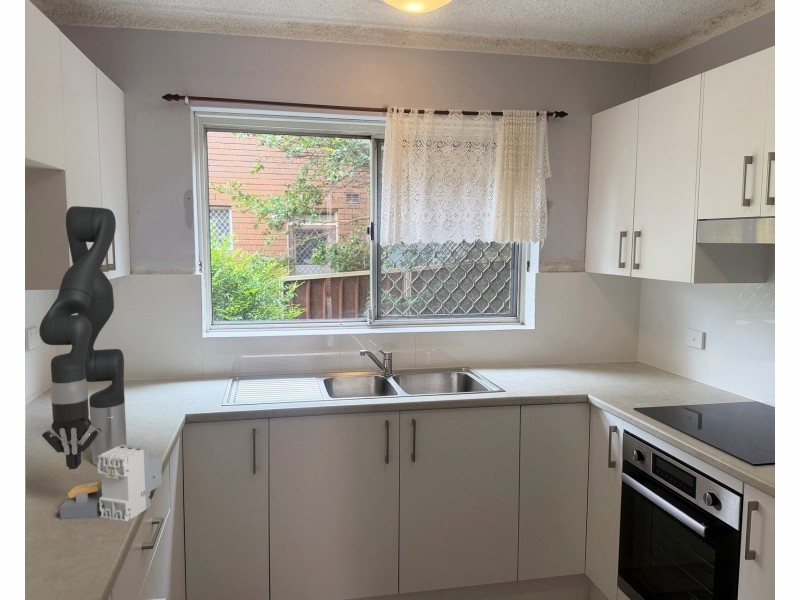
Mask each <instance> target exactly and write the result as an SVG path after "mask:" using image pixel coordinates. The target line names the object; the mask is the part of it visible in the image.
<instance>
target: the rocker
mask: <svg viewBox="0 0 800 600" xmlns="http://www.w3.org/2000/svg"><path fill="white" fill-rule="evenodd" d="M101 487H102V483H101V479H99V480H98V479H97V480H95V481H90V482H85V483H83V484H79V485H76V486H74V487H73V488H72V489H71V490H70V491H69V492H68V493H67V496H68V498H72V497H76V494H77V493H87V492H88V493H91V492H95V491H98V490H99V489H100V488H101Z"/></svg>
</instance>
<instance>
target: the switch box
mask: <svg viewBox="0 0 800 600" xmlns="http://www.w3.org/2000/svg"><path fill="white" fill-rule="evenodd" d="M100 497H102V487H101V488H100V489H99V490H98V491H95V492H91V493H88V492H87V493H77V494H76V497H72V498H69V497H68V498H67V499H65V501H64V502H63V503H62V504H61V505H60V506H59V517H60V520H66V519H67V520H68V519H69V520H70V519H87V518H97V517H98V516H100V515H101V511H100V505H99V498H100ZM103 507H104V505H102V508H103Z"/></svg>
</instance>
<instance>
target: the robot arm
mask: <svg viewBox="0 0 800 600" xmlns="http://www.w3.org/2000/svg"><path fill="white" fill-rule="evenodd" d="M116 226H117V221H116V216H115V214H114V212H113V211H112V210H111V209H110V208H106V207H95V206H93V207H92V206H81V205H79V206H78V205H77V206H76V205H75V206H70V207H69V208H68V209H67V211H66V214H65V229H66V236H67V242H68V245H69V252H70V257H71V263H72V265H71V266H70V267H68V269H67V270H66V272H65V273H64V275H63V276H62V280H61V284H60V286H59V289H58V293H57V297H56V299H55V300H54V302H53V303H52V305H51V306H50V308H49V309H48V311H47V312H46V314H44V317H43V318H42V320H41V322H40V325H39V328H38V329H39V330H38V332H39V337H40V340H41V341H42V342H43V343H44V344H45V345H49V346H70V345H71V349H70V352H68V353H63V354H59V355H55V356H54V357H52V358H51V360H50V373H51V390H50V394H51V395H50V399H51V413H52V420H53V421H52V422H51V423H52V424H51V426H50V427H51V428H49V429H47V430H46V431H45V432H44V433H42V434H41V436H42V438H43V439H44V440H45V441H46V442H47V443H48V445H50V446H51V447H52V449H54V450H55V452H57V453H58V454H59V453H62V454H65V465H66V467H67V468H68V470H77V469H78V468H79V467H80V465H81V464H82V452H83V453H84V452H85V451H86V450H87V449H88V448H89V447H90V446H91V461H92V465H94V466H97V464H98V462H99V457H98V455H101V454H102V453H105V452H107V451H109V450H111V449H113V448H115V447H117V446H120V445H122V444H125V445H128V443H127V425H126V424H127V423H126V422H127V421H126V401H125V400H126V398H125V382H124V381H125V378H124V377H125V358H124V353H123V351H122V350H121V349H120V348H107V349H106V348H105V349H94V346H95V343H96V341H97V338H98V337H99V334H100V332H101V331H102V329H103V328H104V326H105V325H107V322H108V321H109V320H110V318H111V317H112V314H113V312H114V311H115V310H114V309H115V302H114V301H115V298H114V288H113V285H112V283H111V281H110V279H109V278H108V277H107V275H106V274H105V273H104V272H103V271H102V269H101V268H102V265H103V264H104V261H105V259H106V258H107V257H106V256H107V255H108V252H109V250H110V247H111V245H112V242H113V240H114V238H115V233H116V229H117V227H116ZM87 243H93V244H92V245H91V247H89V248H88V244H87ZM87 382H88V383H96V382H97V383H98V382H99V383H100V382H111V384H110V385H109V386H107V387H106V388H103V389H101V390H99V391H96V392H94V393H92V394H91V395H90V396H89V389H88V383H87ZM86 433H87V436H88V437H87V438H86V440H85V441H84V442H83V439H84V436H85V435H86ZM82 442H83V443H82Z"/></svg>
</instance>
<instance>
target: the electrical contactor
mask: <svg viewBox="0 0 800 600" xmlns="http://www.w3.org/2000/svg"><path fill="white" fill-rule="evenodd" d="M149 450H150V449H149V447H147V446H139V445H132V444H127V445H125V444H122V445H120V446H117V447H115V448H113V449H111V450H109V451H107V452H105V453H102V454H101V455H98V457H99V462H98V464H97V465H96V466H97V474H100V480H101V483H102V497H100V498H99V505H100V511H101V513H100V515H99V518H101V517H103V518H102V519H107V518H109V519H108V520H113V519H114V520H115V521H119V520H121V521H120V522H125V521H126V523H127V522H128V521H129V520H131V519H133V518H135V517H136V516H138V515H139V514H141V513H143V512H144V511H145V510H147V509H148V508H149V509H150V507H151V506H152V505H151V504H152V503H151V501H152V499H151V498H150V497H151V492H152V491H154V490H155V489H156V488H159V487H161V486H162V485H163V472H162V471H163V470H162V469H163V468H162V467H163V463H162V455H157V454H152V453H150V452H149ZM102 505H104V507H103V508H102ZM108 516H109V517H108ZM114 520H113V521H114Z"/></svg>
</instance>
